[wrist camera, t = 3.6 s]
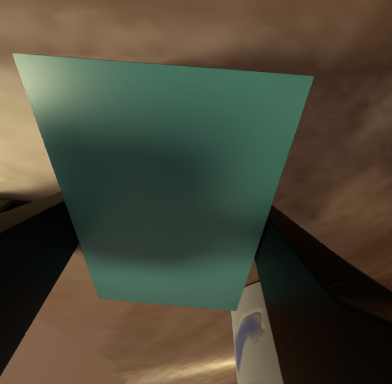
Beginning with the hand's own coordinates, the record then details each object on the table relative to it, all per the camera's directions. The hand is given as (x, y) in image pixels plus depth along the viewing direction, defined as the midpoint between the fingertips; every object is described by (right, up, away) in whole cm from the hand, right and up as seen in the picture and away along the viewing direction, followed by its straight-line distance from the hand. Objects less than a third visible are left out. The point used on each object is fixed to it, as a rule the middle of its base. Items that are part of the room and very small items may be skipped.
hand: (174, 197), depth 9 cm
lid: (0, -1, -1) cm, 1 cm away
